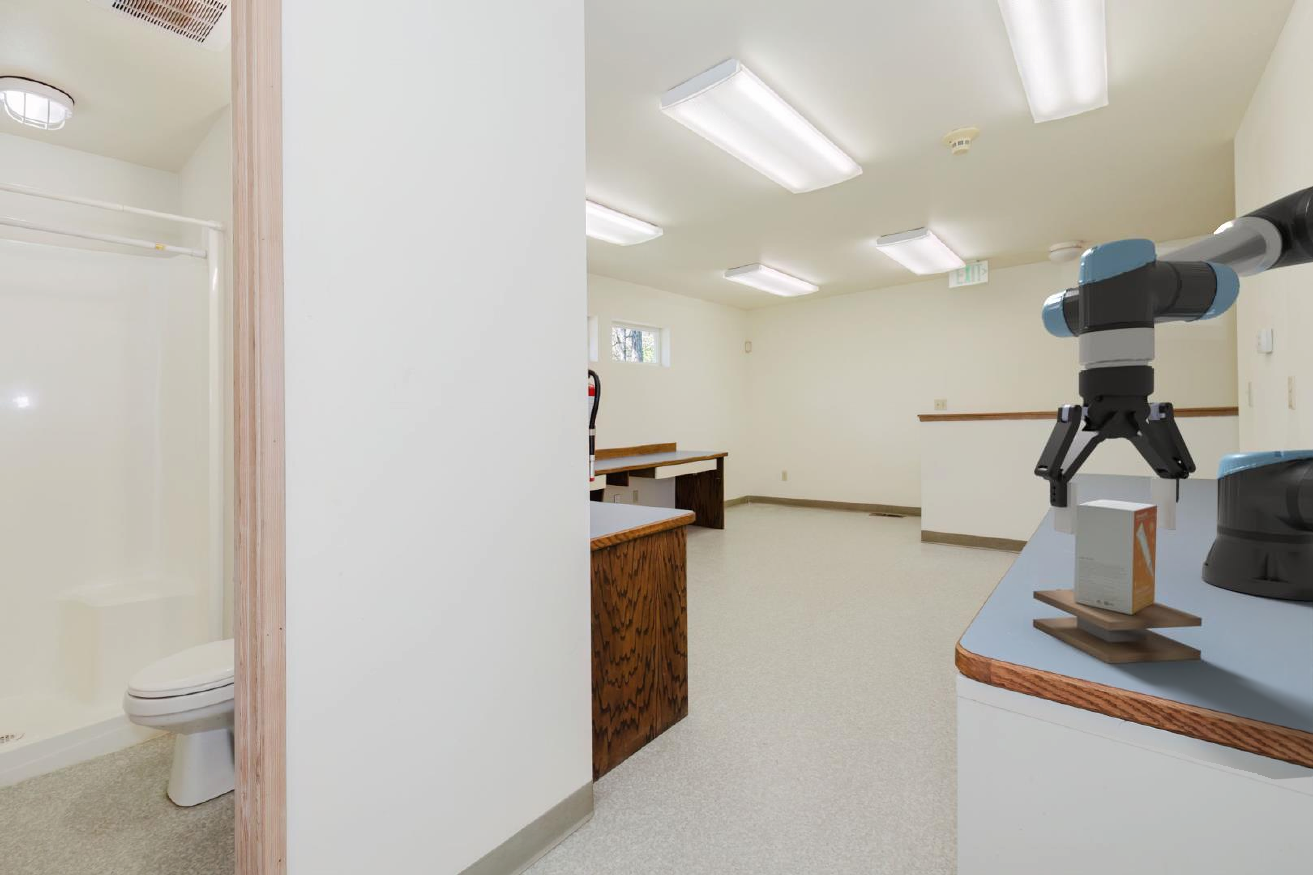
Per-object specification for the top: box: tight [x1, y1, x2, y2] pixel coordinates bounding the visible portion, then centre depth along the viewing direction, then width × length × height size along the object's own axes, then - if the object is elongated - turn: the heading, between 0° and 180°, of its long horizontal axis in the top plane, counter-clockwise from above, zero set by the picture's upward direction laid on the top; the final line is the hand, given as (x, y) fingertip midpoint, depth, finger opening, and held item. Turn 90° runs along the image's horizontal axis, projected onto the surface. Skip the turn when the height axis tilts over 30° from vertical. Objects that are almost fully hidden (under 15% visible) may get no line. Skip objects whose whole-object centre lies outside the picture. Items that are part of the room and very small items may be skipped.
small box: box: [1073, 499, 1157, 615], centre depth 73 cm, size 8×6×13 cm
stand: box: [1032, 588, 1203, 664], centre depth 73 cm, size 12×12×5 cm
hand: (1114, 530), depth 73 cm, fingers open, 13 cm apart
